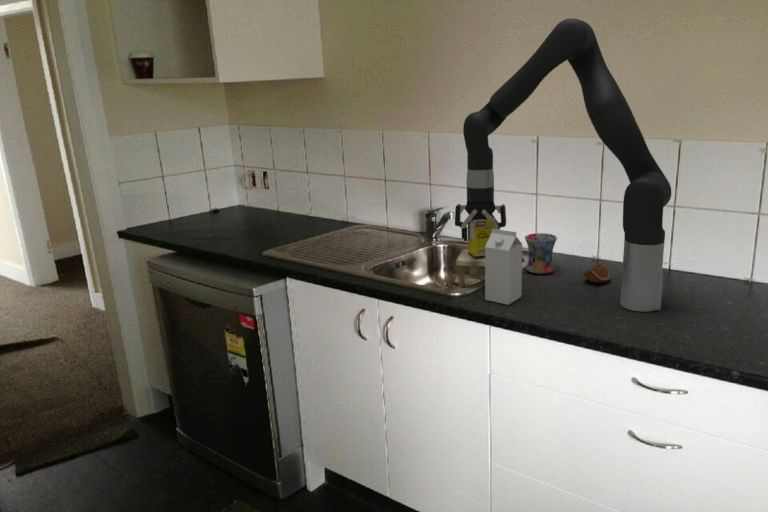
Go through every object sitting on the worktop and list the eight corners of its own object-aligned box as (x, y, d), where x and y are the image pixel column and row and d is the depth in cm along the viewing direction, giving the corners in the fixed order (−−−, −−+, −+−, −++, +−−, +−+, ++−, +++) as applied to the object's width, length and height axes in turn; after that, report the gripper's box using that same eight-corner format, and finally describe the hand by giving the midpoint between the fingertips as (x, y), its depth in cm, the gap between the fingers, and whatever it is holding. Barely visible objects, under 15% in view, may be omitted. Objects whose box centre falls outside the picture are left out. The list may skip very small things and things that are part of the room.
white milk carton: (498, 292, 178) (498, 225, 172) (521, 297, 173) (522, 229, 168) (485, 300, 172) (484, 231, 167) (508, 305, 168) (509, 235, 162)
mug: (545, 278, 187) (546, 243, 184) (518, 272, 194) (518, 238, 190) (566, 268, 195) (568, 234, 192) (540, 262, 201) (541, 229, 198)
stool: (503, 275, 191) (503, 249, 188) (499, 289, 180) (499, 262, 177) (463, 274, 194) (462, 248, 192) (456, 287, 183) (456, 260, 181)
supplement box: (494, 257, 182) (495, 219, 179) (474, 259, 181) (474, 221, 178) (486, 251, 188) (486, 215, 185) (467, 253, 187) (467, 217, 183)
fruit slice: (598, 288, 177) (599, 271, 175) (577, 283, 182) (577, 266, 180) (614, 281, 182) (615, 264, 181) (593, 276, 187) (593, 259, 186)
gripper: (507, 182, 180) (507, 237, 185) (457, 182, 184) (457, 236, 189) (504, 187, 173) (504, 245, 178) (452, 187, 177) (453, 243, 182)
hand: (480, 240), depth 183 cm, fingers open, 8 cm apart
